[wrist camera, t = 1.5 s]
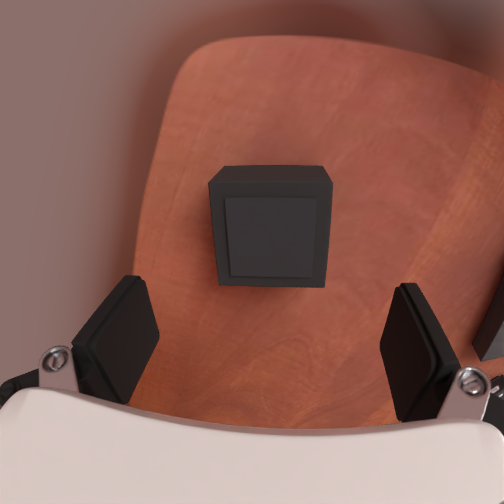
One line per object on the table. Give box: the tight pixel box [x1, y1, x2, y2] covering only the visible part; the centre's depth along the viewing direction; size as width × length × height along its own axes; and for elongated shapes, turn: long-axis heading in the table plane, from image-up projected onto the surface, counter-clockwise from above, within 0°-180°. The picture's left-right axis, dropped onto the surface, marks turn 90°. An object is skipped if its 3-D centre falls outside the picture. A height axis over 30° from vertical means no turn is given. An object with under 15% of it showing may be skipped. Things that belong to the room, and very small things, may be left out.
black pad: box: [208, 165, 333, 288], centre depth 17 cm, size 6×6×4 cm
